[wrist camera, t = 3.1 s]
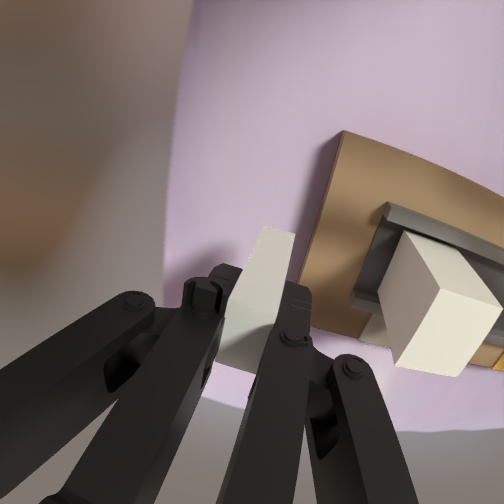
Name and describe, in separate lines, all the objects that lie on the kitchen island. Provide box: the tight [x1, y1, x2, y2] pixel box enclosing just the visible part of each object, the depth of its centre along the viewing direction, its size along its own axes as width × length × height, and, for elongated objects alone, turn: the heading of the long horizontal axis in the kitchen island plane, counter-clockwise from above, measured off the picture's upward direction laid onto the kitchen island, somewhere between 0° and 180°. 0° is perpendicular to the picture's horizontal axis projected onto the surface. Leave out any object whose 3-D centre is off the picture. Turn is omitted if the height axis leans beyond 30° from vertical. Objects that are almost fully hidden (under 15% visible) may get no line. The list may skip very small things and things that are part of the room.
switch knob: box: [377, 230, 503, 377], centre depth 15 cm, size 4×4×7 cm
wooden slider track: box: [296, 130, 504, 371], centre depth 18 cm, size 13×28×3 cm, turn 78°
